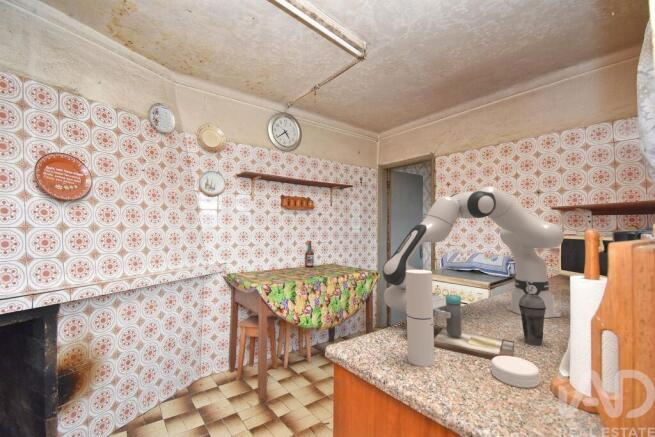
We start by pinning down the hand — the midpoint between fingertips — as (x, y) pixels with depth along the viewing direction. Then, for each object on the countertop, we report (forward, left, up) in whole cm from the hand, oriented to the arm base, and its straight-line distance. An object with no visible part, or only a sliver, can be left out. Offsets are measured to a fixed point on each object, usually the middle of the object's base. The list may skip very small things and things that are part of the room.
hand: (456, 313), depth 93 cm
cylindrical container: (+19, -6, -9) cm, 22 cm away
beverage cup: (-13, +20, -9) cm, 26 cm away
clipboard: (0, +4, -9) cm, 10 cm away
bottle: (0, -1, -7) cm, 7 cm away
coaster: (+15, +16, -10) cm, 24 cm away
